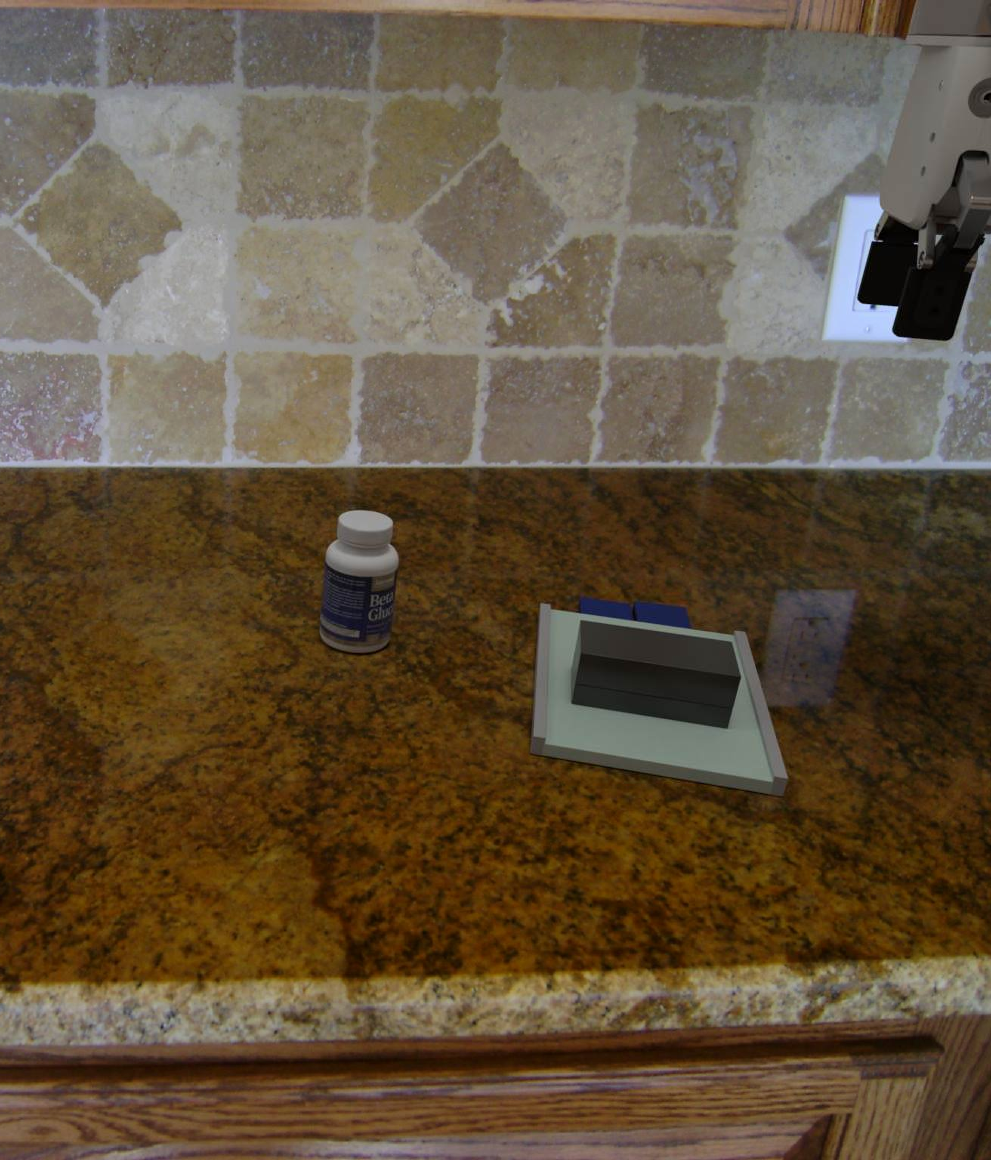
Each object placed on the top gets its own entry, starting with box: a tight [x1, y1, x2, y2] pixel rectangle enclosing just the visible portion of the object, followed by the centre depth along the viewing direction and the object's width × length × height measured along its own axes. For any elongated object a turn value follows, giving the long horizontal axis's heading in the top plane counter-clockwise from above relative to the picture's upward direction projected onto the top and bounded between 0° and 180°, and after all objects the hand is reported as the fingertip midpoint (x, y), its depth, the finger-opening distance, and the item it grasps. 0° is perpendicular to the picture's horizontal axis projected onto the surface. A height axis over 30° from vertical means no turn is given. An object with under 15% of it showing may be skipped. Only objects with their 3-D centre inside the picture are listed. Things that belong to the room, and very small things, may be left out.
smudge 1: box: [578, 596, 634, 621], centre depth 93 cm, size 4×4×1 cm
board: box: [529, 602, 789, 798], centre depth 82 cm, size 15×20×1 cm
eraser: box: [571, 620, 741, 728], centre depth 79 cm, size 10×5×4 cm, turn 75°
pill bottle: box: [319, 509, 400, 654], centre depth 87 cm, size 5×5×10 cm
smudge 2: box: [632, 600, 692, 629], centre depth 92 cm, size 4×4×1 cm
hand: (900, 320), depth 74 cm, fingers open, 9 cm apart
